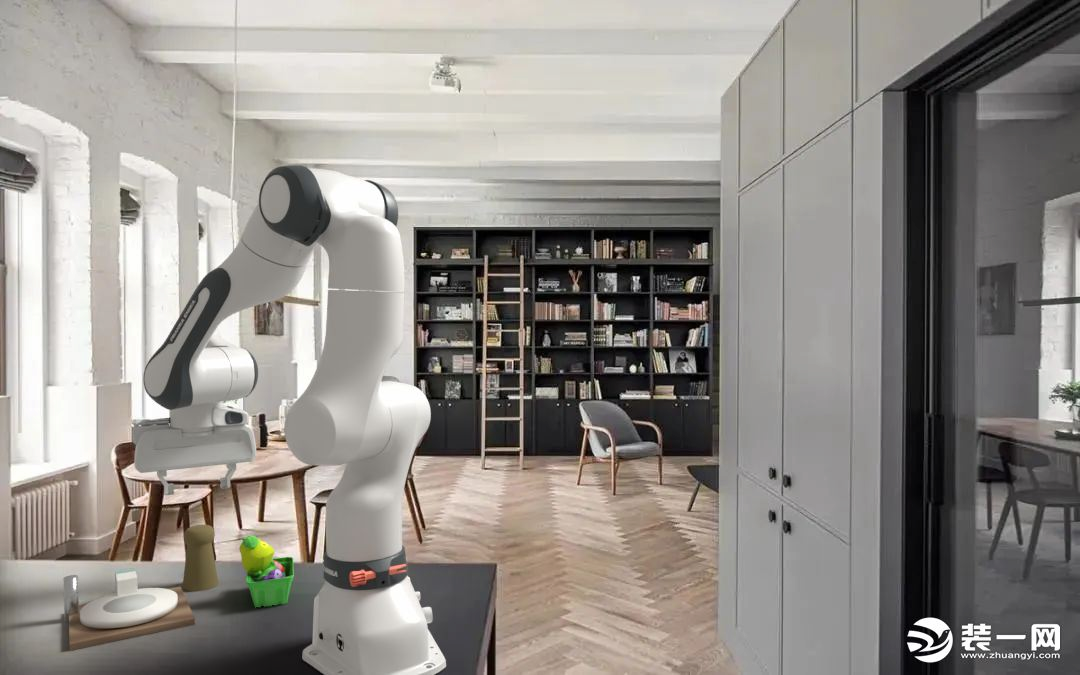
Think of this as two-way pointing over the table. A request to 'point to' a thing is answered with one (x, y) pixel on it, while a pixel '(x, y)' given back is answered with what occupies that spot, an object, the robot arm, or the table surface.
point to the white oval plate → (128, 604)
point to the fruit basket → (266, 572)
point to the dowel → (70, 596)
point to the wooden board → (94, 636)
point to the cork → (199, 559)
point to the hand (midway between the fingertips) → (197, 491)
